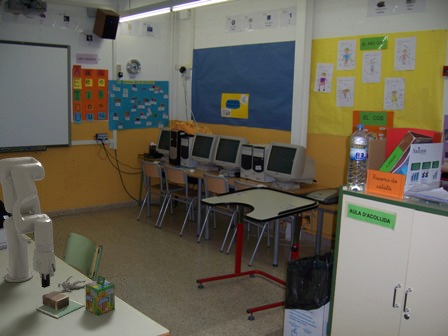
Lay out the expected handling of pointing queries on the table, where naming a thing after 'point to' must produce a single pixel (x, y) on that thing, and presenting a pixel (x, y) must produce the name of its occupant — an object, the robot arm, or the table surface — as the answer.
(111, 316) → the table surface
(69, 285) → the soldier figure
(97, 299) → the chalk box
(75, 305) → the mat
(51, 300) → the walnut block
